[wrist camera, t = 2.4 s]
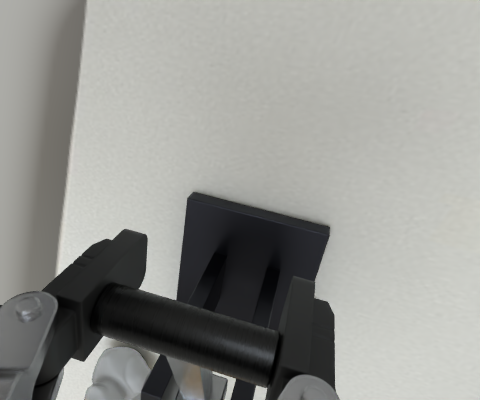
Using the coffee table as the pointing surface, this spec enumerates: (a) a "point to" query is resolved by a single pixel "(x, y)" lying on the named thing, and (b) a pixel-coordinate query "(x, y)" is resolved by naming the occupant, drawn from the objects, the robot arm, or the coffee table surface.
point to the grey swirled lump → (118, 375)
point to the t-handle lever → (188, 340)
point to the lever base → (238, 271)
